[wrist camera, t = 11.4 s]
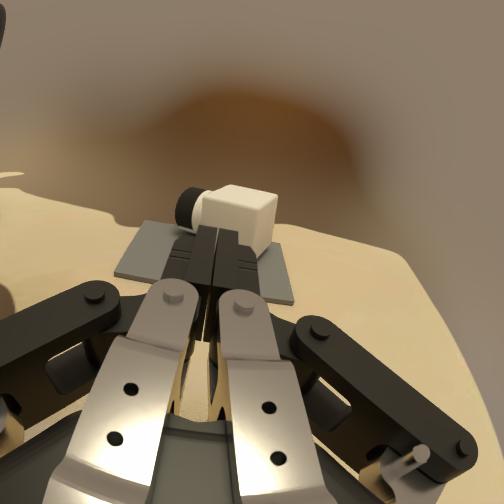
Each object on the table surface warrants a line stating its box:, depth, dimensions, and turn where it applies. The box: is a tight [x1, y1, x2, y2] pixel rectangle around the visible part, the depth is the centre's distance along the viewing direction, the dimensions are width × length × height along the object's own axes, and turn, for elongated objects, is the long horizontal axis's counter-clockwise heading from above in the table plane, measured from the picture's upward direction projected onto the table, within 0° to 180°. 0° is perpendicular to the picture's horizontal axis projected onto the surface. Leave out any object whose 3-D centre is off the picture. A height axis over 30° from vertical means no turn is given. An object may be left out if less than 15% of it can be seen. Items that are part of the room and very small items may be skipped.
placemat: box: [114, 220, 294, 305], centre depth 36 cm, size 20×13×1 cm, turn 93°
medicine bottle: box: [175, 185, 278, 258], centre depth 37 cm, size 7×7×12 cm
